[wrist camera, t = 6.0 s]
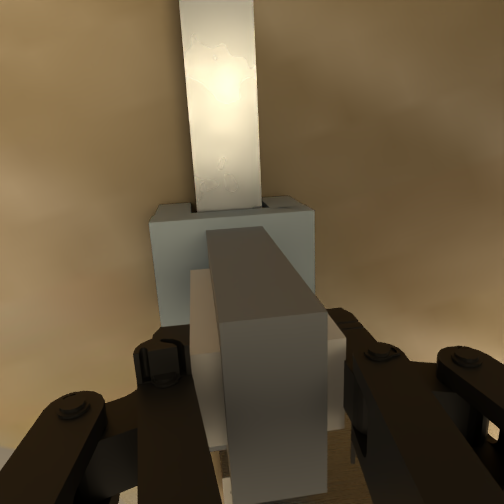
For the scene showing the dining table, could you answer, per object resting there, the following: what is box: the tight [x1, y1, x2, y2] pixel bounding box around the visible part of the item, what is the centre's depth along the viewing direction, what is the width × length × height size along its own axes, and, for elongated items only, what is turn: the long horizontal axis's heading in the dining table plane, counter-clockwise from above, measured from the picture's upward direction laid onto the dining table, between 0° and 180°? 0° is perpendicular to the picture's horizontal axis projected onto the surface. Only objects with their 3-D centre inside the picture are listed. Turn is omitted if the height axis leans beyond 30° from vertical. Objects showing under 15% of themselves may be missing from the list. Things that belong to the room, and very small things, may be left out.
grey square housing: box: [220, 412, 373, 504], centre depth 22 cm, size 7×7×10 cm
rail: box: [179, 0, 262, 452], centre depth 19 cm, size 5×27×5 cm, turn 3°
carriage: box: [149, 196, 328, 504], centre depth 16 cm, size 7×6×14 cm
